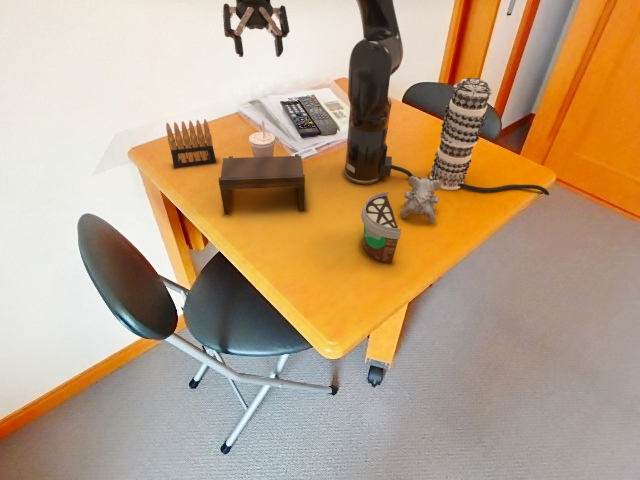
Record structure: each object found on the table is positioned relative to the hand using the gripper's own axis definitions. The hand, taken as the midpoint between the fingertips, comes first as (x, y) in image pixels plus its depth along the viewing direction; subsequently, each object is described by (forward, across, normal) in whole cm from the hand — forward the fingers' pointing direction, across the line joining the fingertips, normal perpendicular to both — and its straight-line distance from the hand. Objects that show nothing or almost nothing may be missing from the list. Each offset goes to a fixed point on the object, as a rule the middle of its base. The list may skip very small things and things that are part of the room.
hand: (260, 55), depth 89 cm
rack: (+29, -2, +6) cm, 29 cm away
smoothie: (+25, 0, +11) cm, 27 cm away
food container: (+45, +14, -17) cm, 50 cm away
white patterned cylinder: (+33, +43, -4) cm, 54 cm away
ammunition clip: (+20, -17, +19) cm, 33 cm away
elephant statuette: (+39, +30, -10) cm, 50 cm away
